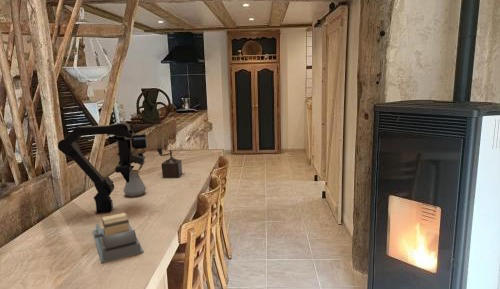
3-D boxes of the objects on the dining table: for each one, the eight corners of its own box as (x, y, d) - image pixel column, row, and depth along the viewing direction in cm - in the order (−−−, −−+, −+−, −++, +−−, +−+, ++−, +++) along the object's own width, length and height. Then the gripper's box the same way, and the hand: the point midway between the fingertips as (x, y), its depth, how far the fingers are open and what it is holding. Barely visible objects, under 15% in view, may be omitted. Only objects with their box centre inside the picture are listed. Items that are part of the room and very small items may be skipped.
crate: (104, 242, 133) (101, 217, 131) (127, 236, 137) (124, 212, 135) (107, 250, 127) (104, 223, 125) (131, 244, 130) (128, 218, 129)
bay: (90, 232, 143) (88, 210, 142) (128, 224, 150) (126, 202, 149) (98, 264, 118) (95, 237, 117) (143, 252, 125) (141, 227, 123)
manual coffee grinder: (183, 173, 228) (181, 145, 225) (178, 178, 217) (176, 149, 214) (159, 173, 229) (157, 146, 226) (154, 178, 218) (151, 150, 215)
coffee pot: (140, 198, 183) (138, 170, 180) (119, 198, 184) (116, 170, 181) (156, 185, 204) (154, 160, 201) (137, 185, 205) (135, 160, 202)
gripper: (139, 152, 155) (143, 186, 158) (145, 144, 173) (148, 175, 176) (113, 154, 154) (117, 188, 157) (121, 146, 172) (125, 177, 175)
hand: (128, 182), depth 166 cm, fingers closed
